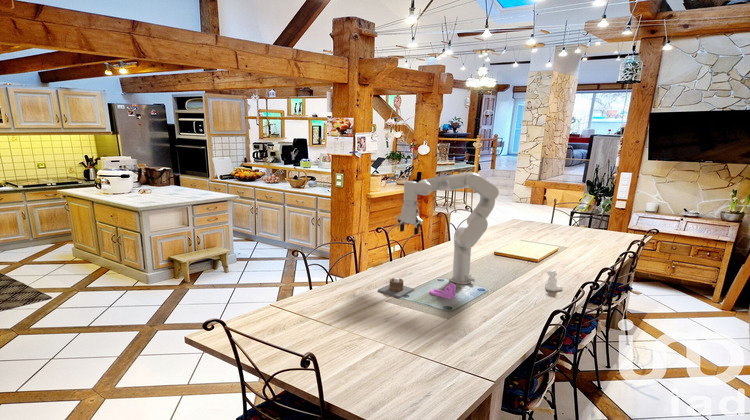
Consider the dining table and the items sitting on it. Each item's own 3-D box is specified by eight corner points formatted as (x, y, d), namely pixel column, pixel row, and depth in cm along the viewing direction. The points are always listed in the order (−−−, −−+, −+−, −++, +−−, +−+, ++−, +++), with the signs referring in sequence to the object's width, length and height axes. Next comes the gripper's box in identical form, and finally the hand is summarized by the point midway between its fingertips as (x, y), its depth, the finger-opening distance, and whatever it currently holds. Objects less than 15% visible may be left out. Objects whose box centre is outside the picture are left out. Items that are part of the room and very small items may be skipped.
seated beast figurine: (563, 289, 228) (565, 269, 225) (557, 294, 221) (560, 273, 219) (546, 285, 234) (548, 265, 232) (540, 289, 228) (542, 268, 225)
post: (414, 290, 222) (414, 278, 220) (399, 298, 211) (399, 285, 210) (393, 284, 230) (393, 272, 229) (377, 291, 220) (378, 278, 218)
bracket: (455, 296, 216) (455, 283, 214) (450, 299, 211) (451, 286, 210) (432, 290, 223) (433, 278, 222) (428, 293, 218) (428, 281, 217)
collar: (405, 288, 221) (405, 280, 220) (397, 292, 216) (398, 283, 215) (394, 285, 225) (395, 277, 224) (387, 289, 220) (387, 280, 219)
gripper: (426, 204, 227) (425, 234, 230) (401, 200, 237) (400, 229, 240) (419, 206, 221) (418, 236, 224) (393, 202, 231) (392, 231, 235)
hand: (409, 232), depth 232 cm, fingers open, 9 cm apart
